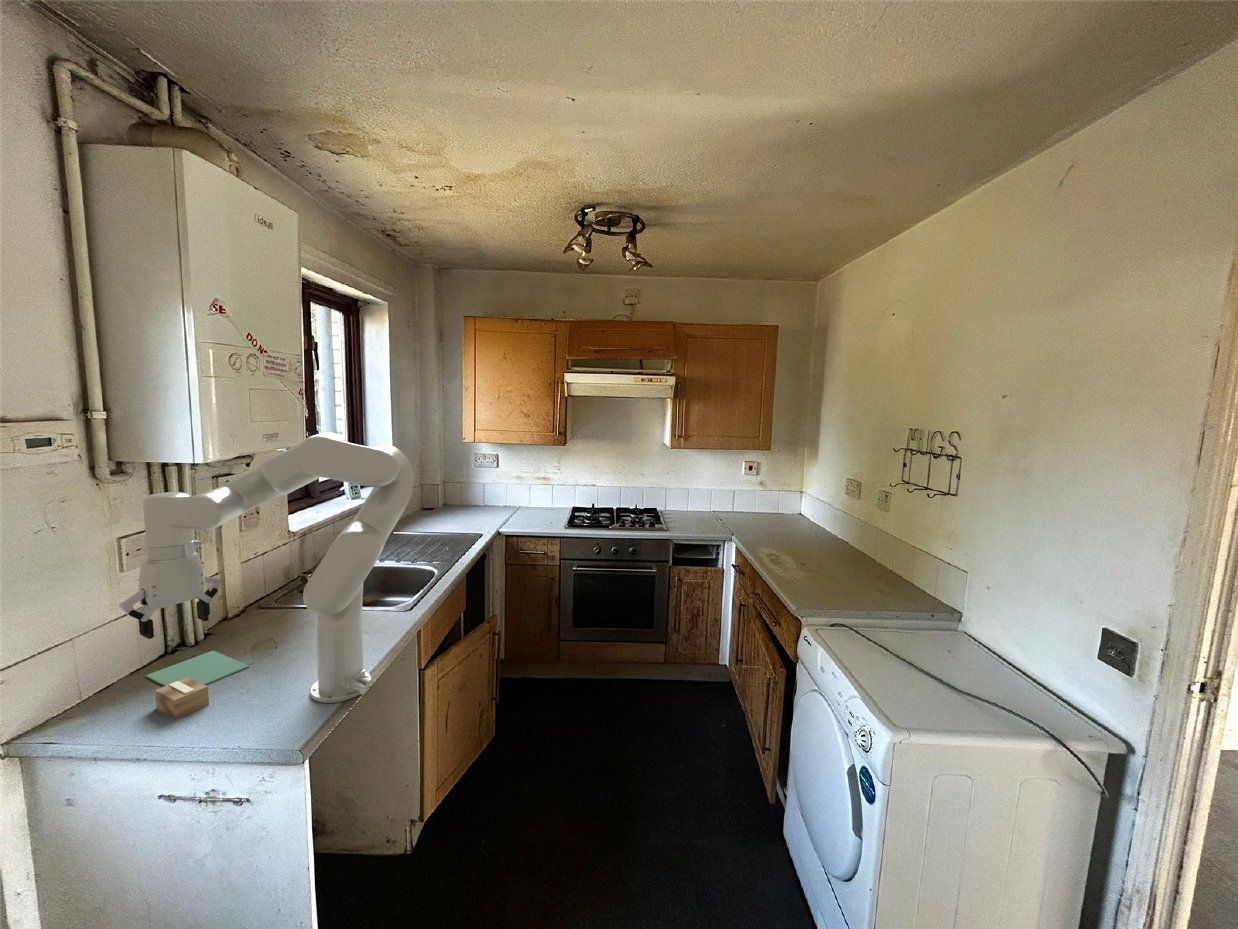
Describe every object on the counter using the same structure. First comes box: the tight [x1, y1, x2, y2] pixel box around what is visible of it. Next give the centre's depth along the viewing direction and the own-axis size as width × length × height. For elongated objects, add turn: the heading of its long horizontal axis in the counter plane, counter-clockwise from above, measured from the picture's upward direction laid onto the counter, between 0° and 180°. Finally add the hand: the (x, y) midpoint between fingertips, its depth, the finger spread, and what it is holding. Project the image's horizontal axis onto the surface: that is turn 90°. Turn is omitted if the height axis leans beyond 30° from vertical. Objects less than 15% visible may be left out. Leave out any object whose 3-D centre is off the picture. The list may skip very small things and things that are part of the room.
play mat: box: [145, 650, 250, 687], centre depth 123 cm, size 16×14×1 cm
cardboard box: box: [154, 677, 210, 720], centre depth 109 cm, size 8×6×5 cm
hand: (176, 628), depth 108 cm, fingers open, 9 cm apart
